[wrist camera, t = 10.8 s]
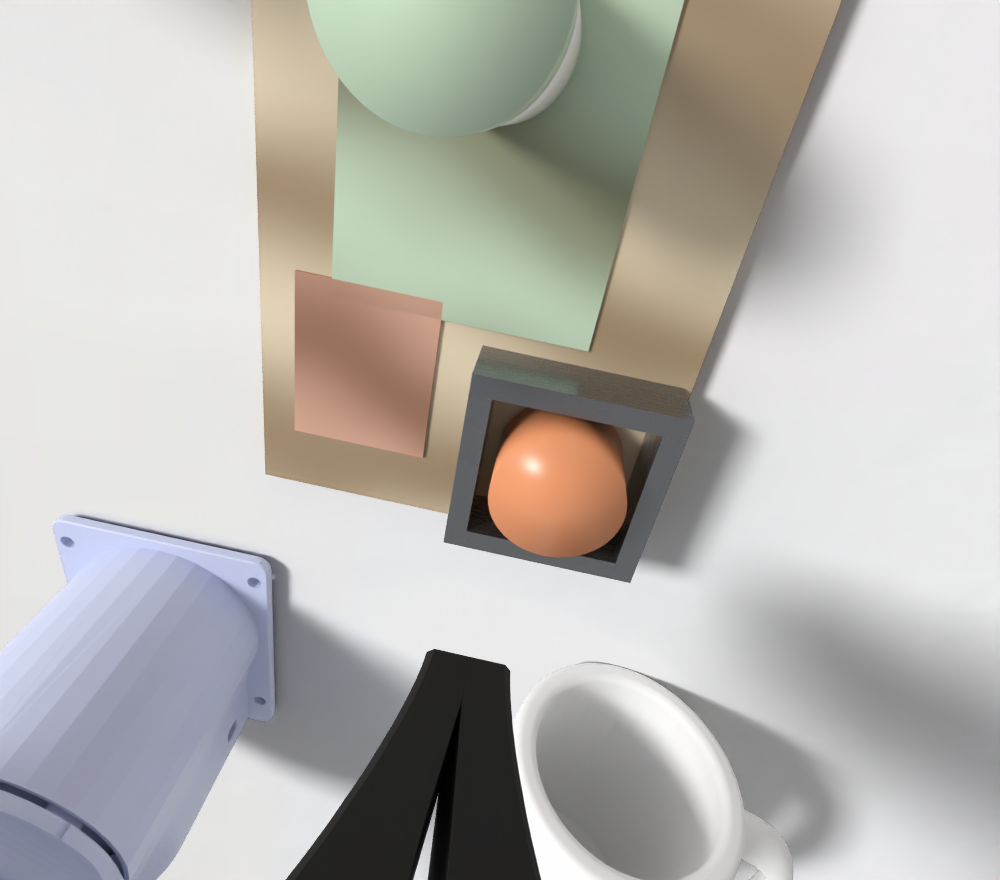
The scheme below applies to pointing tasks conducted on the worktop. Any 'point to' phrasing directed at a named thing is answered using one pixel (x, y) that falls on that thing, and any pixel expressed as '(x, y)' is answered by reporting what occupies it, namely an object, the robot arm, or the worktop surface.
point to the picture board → (507, 231)
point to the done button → (558, 484)
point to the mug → (632, 785)
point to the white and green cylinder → (451, 58)
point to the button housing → (579, 397)
